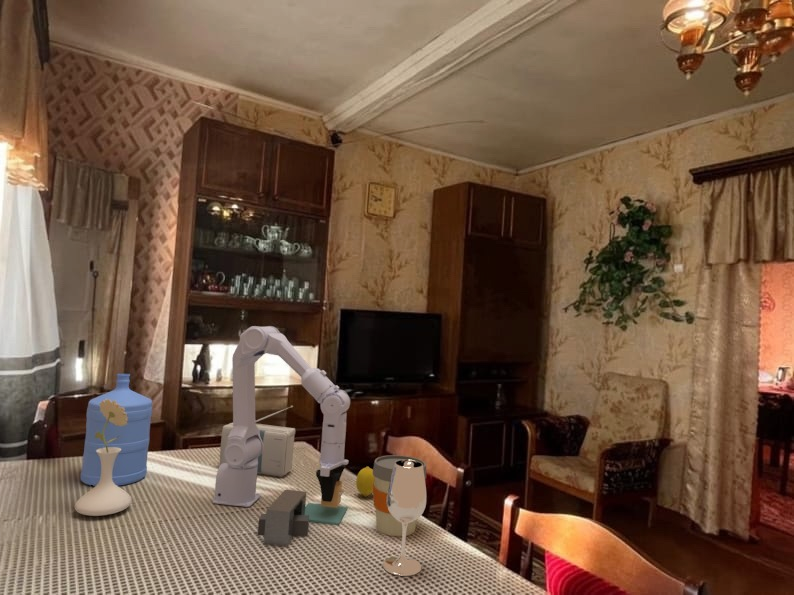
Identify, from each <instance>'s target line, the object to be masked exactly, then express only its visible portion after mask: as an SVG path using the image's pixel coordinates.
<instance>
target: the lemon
mask: <svg viewBox="0 0 794 595" xmlns="http://www.w3.org/2000/svg"><path fill="white" fill-rule="evenodd" d="M355 483H356V484H355V485H356V489H357V491H358V492H359V493H360V494H361V495H363V497H365V498H366V497H368V496H369V495H371V494H373V484H374V475H373V468H370V467H369V466H366V467H363V468H362V469H360V471H359V472H358V473H357V476H356V482H355Z"/></svg>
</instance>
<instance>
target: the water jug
mask: <svg viewBox="0 0 794 595" xmlns="http://www.w3.org/2000/svg"><path fill="white" fill-rule="evenodd" d="M116 376H117V378H116V381H115V382H116V385H115V388H114V389H113V390H110V391H109V392H105V393H103V394H101V395H98V396H97V397H93V398H91V399H89V401H88V404H87V407H86V408H87V409H86V416H85V417H86V423H85V425H86V426H85V427H86V430H85V431H86V432H85V439H84V448H83V450H84V451H83V455H82V464H81V465H82V466H81V471H80V481H81V482H82V483H84V484H86V485H88V486H91V485H93V486H92V487H95V486H96V485H97V484H98V483H99V481H100V478H101V459H100V456H99V455H98V453H97V452H96V450H98V449H100V448H105V443H104V440H103V441H102V440H100V439H99V438H96V437H94V436H95V435H96V433H97V431H98V432H100V433H101V434H102V432H103V428H104V426H105V423H106V421H107V419H106V417H105V416H104V415H103V413H102V412H101V411H100V402H101V403H102V401H105V399H110V401H111V402H113V400H115V401H116V403H117V404H119V405H120V406H121V407H120V408H124V409H125V411H124V412H125V413H126V414H127V418H128V420H127V425H124V426H122V427H120V426H116V425H115V424H114V423H111V422H110V421H108V423H107V425H106V427H105V430H104V437H105V441H106V443H107V442H108V441H110V440H112V439H114V438H116V439H115V440H113V441H111V442H109V443H107V447H117V448H121V451H120V452H119V453H118V455H117V456H116V458H115V461H114V465H113V471H112V480H113V482H114V484H115V485H117V486H118V487H121V486H125V485H129V484H134V483H135V482H138V481H141V480H143V478H145V477H146V475H147V473H148V472H147V470H148V466H147V465H148V464H147V462H148V455H149V454H148V452H149V446H150V438H151V437H150V432H151V431H150V430H151V419H152V414H153V401H152V399H151V398H150V397H147V396H144V395H142V394H140V393H138V392H135V391H133V390H131V389H130V386H129V385H130V381H131V380H130V376H131V374H130V373H116ZM118 436H119V437H118ZM117 437H118V438H117Z"/></svg>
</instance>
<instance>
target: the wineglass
mask: <svg viewBox="0 0 794 595" xmlns="http://www.w3.org/2000/svg"><path fill="white" fill-rule="evenodd" d="M426 485H427V484H426V479H425V477H424V470H423V464H422V463H421V462H418V461H414V460H398V461H396V462H395V464H394V468H393V471H392V475H391V478H390V482H389V487H388V492H387V507H388V510H389V512H390V514H391V515H392V516H393V517H394V518H395V519H396V520H397V521H399V522H401V523H402V536H401V550H400V551H401V552H400V555H395V556H390V557H388V558H386V559H384V560H383V561H382V567H383V569H384V571H386V572H387V573H389V574H392V575H395V576H398V577H399V576H400V577H410V576H415V575H417V574H418V573H420V572H421V571H422V565H421V563H420V562H419V561H418V560H416V559H414V558H412V557H410V556H406V539H407V536H406V530H407V526H408V523H411V522H413V521H415V520H417V521H418V519H419V518H420V517H421V516H422V515H423V513H424V511H425V509H426V505H427V487H426Z"/></svg>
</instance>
